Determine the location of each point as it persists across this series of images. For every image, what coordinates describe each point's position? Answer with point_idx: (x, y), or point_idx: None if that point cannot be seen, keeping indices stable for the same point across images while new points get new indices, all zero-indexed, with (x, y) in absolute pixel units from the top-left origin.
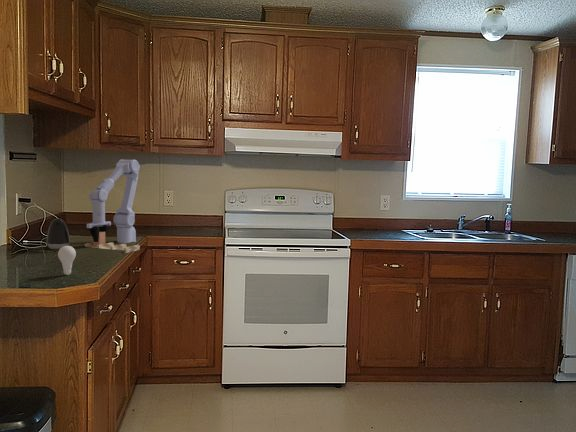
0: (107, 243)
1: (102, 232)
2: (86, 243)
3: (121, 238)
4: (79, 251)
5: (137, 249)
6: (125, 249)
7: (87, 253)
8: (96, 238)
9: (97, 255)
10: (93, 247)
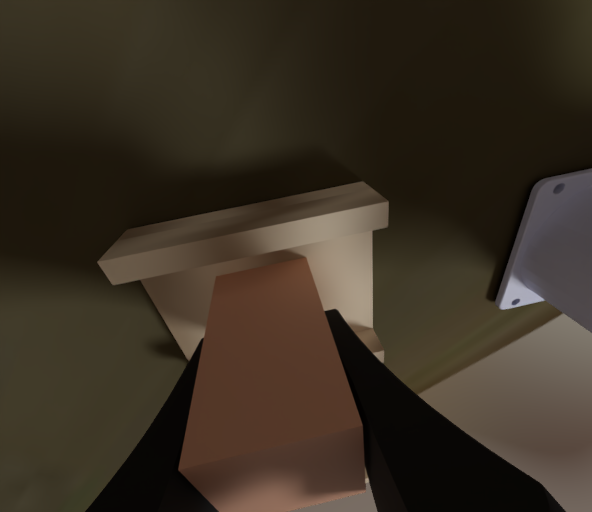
0: None
1: (302, 501)
2: (129, 259)
3: (569, 302)
4: (17, 322)
5: None
6: None
7: (62, 413)
8: None
9: (100, 471)
10: (178, 332)
